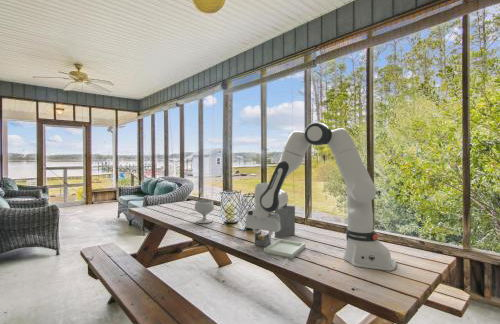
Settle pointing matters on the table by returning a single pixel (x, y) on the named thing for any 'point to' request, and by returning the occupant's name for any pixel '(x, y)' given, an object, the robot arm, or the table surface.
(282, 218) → the hip flask
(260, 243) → the caddy
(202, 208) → the chalice
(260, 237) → the block
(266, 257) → the table surface
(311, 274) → the table surface
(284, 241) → the tray
